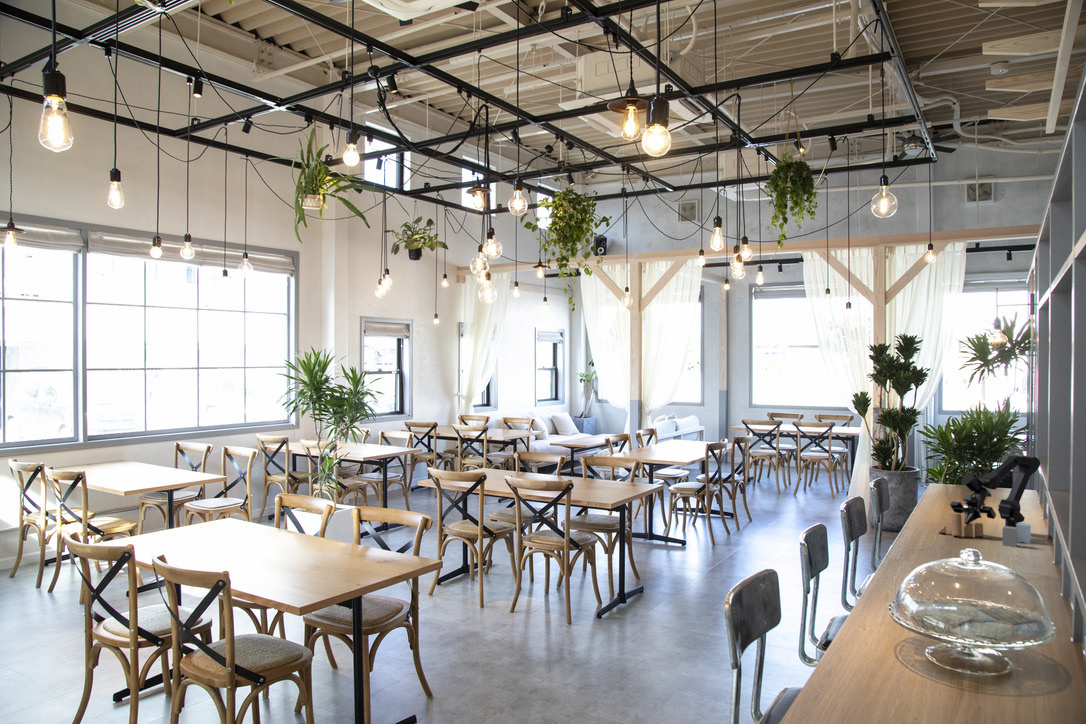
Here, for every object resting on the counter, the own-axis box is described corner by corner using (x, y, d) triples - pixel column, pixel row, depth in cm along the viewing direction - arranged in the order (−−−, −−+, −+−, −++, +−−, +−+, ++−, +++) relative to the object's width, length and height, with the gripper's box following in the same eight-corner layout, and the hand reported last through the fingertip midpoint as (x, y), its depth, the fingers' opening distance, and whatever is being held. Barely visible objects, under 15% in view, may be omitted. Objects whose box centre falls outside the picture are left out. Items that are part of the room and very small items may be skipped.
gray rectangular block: (1003, 543, 325) (1004, 525, 325) (1017, 545, 322) (1017, 527, 322) (1002, 545, 321) (1002, 527, 321) (1016, 547, 318) (1016, 529, 318)
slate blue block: (1017, 539, 332) (1017, 522, 332) (1030, 541, 329) (1030, 524, 329) (1016, 541, 328) (1016, 524, 329) (1029, 543, 325) (1029, 525, 325)
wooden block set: (981, 542, 338) (980, 520, 342) (985, 538, 330) (984, 516, 334) (938, 537, 344) (937, 515, 348) (941, 533, 337) (940, 511, 341)
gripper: (951, 484, 347) (939, 509, 341) (992, 489, 331) (980, 516, 325) (960, 499, 351) (948, 524, 345) (1001, 505, 335) (989, 531, 329)
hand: (965, 523), depth 336 cm, fingers closed
